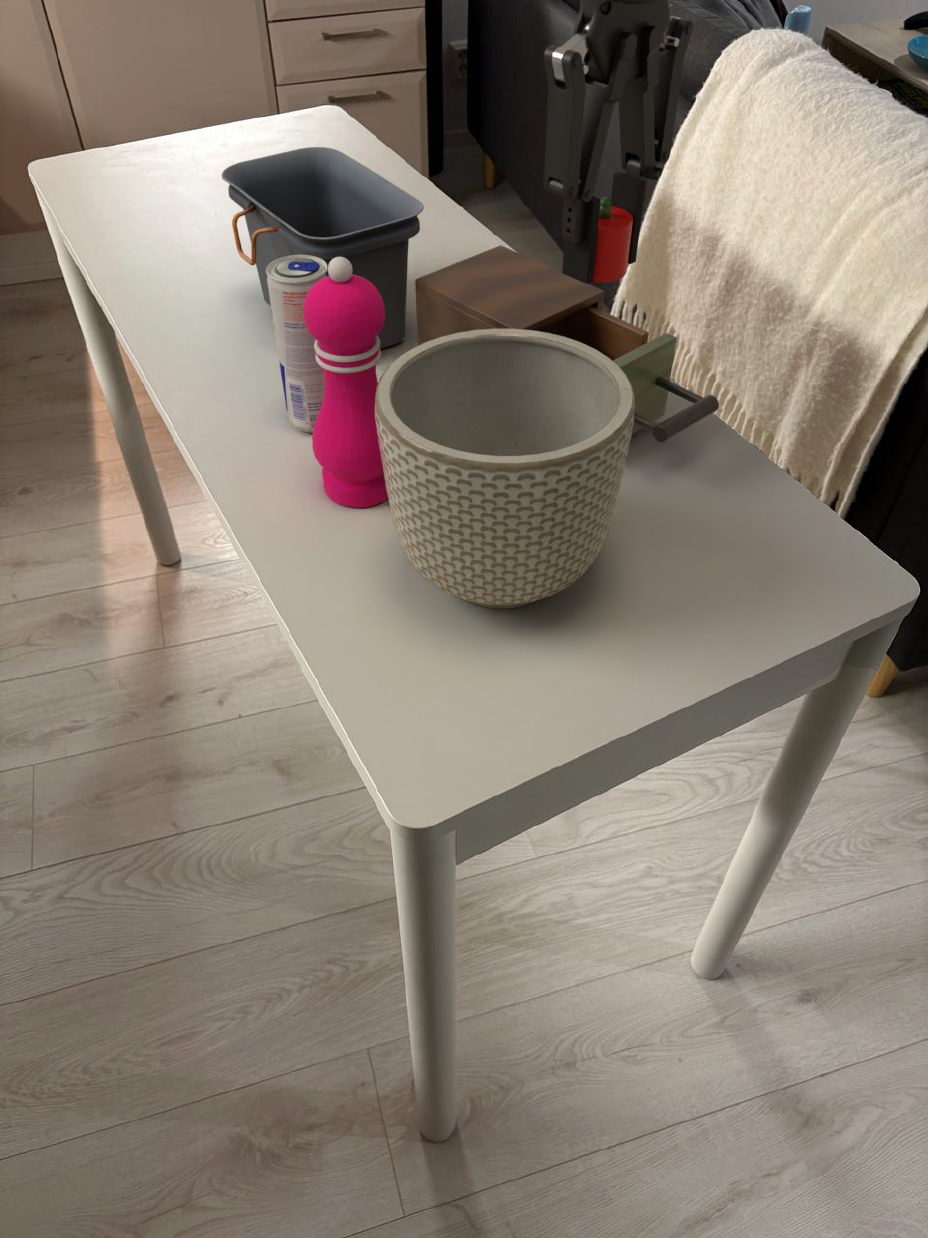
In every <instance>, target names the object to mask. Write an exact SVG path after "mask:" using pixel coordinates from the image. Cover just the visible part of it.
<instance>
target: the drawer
mask: <svg viewBox="0 0 928 1238" xmlns="http://www.w3.org/2000/svg"><path fill="white" fill-rule="evenodd" d="M536 331H539V332H546V333H550V334H555V335H559V336H563V337H566V338H569V339H572V340H575V341H578V342H581V343H583V344H585V345H587V346H589V347H592V348H594V349H596V350H597V351H599V352H600V353H602V354H604V355H605V356H607V357H608V358H609V359H611V360H612V361H613V362H614V363H615V364H617V365H618V366H619V367H620V368H621V370H622V371H623V372H624V373H625V374H626V376H627V377H628V379H629V381H630V383H631V385H632V389H633V394H634V398H635V400H634V405H635V410H634V423H633V429H632V435H633V434H635V433H636V432H638V431H640V430H641V429H643V428H644V429H645V430H647V431H650V432H652V437H653V438H654V440H655V441H656V442H658V443H659V444H660V443H663V444H664V443H666V442H667V441H669V440H671V439H672V438H673V437H676V436H677V435H679V434H680V433H682V432H684V431H686V430H687V429H689V428H691V427H692V426H694V425H696V424H697V423H698V422H700V421H702V420H704V419H706V418H707V417H709V416H710V415H712V414H714V413H715V412H717V411H718V409H719V406H720V402H719V400H718V398H717V397H716V396H715V395H712V394H708V395H706V396H704V397H703V396H701V395H699V394H698V393H695V392H693V391H691V390H689V389H687V388H684V387H683V386H681V385H678V384H677V383H675V382H673V381H671V377H672V371H673V365H674V359H675V352H676V346H677V340H678V338H677V336H675V335H672V334H670V333H668V332H666V333H663V334H661V335H660V336H658V337H656V338H654V339H652V340H650V341H649V333H650V332H649V331H648V330H645V329H644V328H641V327H638V326H637V325H634V324H632V323H630V322H627V321H625V320H624V319H621V318H619V317H617V316H614V315H612V314H611V313H608V312H605V311H604V310H603V311H601V310H599V309H597V308H595V307H593V306H587V307H585V308H583V309H581V310H579V311H577V312H575V313H573V314H570V315H568V316H566V317H564V318H562V319H560V320H558V321H556V322H553V323H551V324H549V325H547V326H545V327H543V328H541V329H539V330H536ZM669 392H670V393H672V394H674V395H676V396H678V397H680V398H682V399H684V400H686V401H688V402H690V403H691V405H689V406H687V407H685V408H684V409H682V410H680V411H679V412H676V413H675V414H673V415H672V416H670V417H668V418H667V419H665V420H663V421H662V422H660V423H657V422H655V421H657V420H659V419H660V418H662V417H664V416H665V415H666V408H667V401H668V397H669V395H668V394H669Z"/></svg>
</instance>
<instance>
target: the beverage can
mask: <svg viewBox="0 0 928 1238" xmlns="http://www.w3.org/2000/svg"><path fill="white" fill-rule="evenodd" d="M327 270H328V266H327V264H326V262H325V261H324V260H322V259H320V258H318V257H315V256H310V255H291V256H286V257H282V258H279V259H276V260H274V261H273V262H271V263H270V264H269V265H268V266H267V268H266V273H267V275H268V277H267V283H268V289H269V296H270V303H271V306H270V308H271V315H272V322H273V329H274V336H275V340H276V341H275V342H276V343H275V344H276V348H277V356H278V362H279V369H280V375H281V382H282V389H283V395H284V401H285V408H286V409H285V410H286V414H287V419H288V421H289V422H290V424H291V425H292V426H294V427H295V428H298V429H299V430H300V431H302V432H305V433H310V434H313V430H314V425H315V421H316V419H317V416H318V413H319V411H320V408H321V405H322V402H323V397H324V391H325V387H324V373H323V368H322V367H321V366H320V365H319V364H318V363H317V361H316V358H315V355H316V351H315V348H314V343H315V340H316V339H315V338H314V337H313V336H312V335H311V334H310V332H309V331H308V330H307V327H306V325H305V321H304V312H303V308H304V301H305V298H306V296H307V293H308V292H309V290H310V288H311V287H312V286H313V285H314V284H315V283H316V282H318V281H319V280H321V279H323V278H324V277H327V276H329V274H328V272H327Z"/></svg>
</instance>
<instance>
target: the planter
mask: <svg viewBox="0 0 928 1238" xmlns="http://www.w3.org/2000/svg"><path fill="white" fill-rule="evenodd" d="M634 400H635V398H634V394H633V389H632V385H631V383H630V381H629V379H628V377H627V376H626V374H625V373H624V372H623V371H622V370H621V368H620V367H619V366H618V365H617V364H615V363H614V362H613V361H612V360H611V359H609V358H608V357H607V356H605V355H604V354H602V353H600V352H599V351H597V350H596V349H594V348H592V347H589V346H587V345H585V344H583V343H581V342H578V341H575V340H572V339H569V338H566V337H563V336H559V335H555V334H550V333H546V332H539V331H533V330H523V329H482V330H472V331H466V332H459V333H455V334H451V335H447V336H442V337H439V338H436V339H433V340H431V341H428V342H425V343H423V344H421V345H419V346H418V345H417V346H415V347H412V348H411V349H409V350H408V351H406V352H405V353H403V354H401V355H400V356H399V357H397V359H395V360H394V361H393V362H391V364H389V365H388V367H387V368H386V369H385V371H384V372H383V373H382V374H381V376H380V379H379V380H378V385H377V389H376V396H375V419H376V428H377V435H378V441H379V447H380V453H381V459H382V465H383V472H384V478H385V484H386V490H387V494H388V499H387V500H388V503H389V508H390V513H391V516H392V521H393V525H394V528H395V531H396V534H397V537H398V540H399V542H400V545H401V547H402V549H403V551H404V554H405V556H406V557H407V558H408V560H409V561H410V563H411V564H412V566H413V567H414V568H415V570H416V571H417V572H418V573H419V574H420V575H421V576H422V577H423V578H424V579H425V580H426V581H428V582H429V583H431V584H432V585H434V586H435V587H436V588H438V589H440V590H441V591H442V592H443V591H444V592H445V593H447V594H449V595H450V596H454V597H457V598H459V599H462V600H464V601H466V602H468V603H470V604H472V605H476V606H479V607H483V608H487V609H495V610H497V609H498V610H499V609H501V610H503V609H505V610H507V609H514V608H518V607H523V606H526V605H528V604H532V603H533V602H536V601H540V600H543V599H545V598H548V597H551V596H553V595H555V594H557V593H559V592H561V591H563V590H564V589H566V588H567V587H569V586H570V585H572V584H574V583H575V582H576V581H578V580H580V578H581V577H582V576H583V575H584V574H585V573H586V572H587V571H588V570H589V568H590V567H591V565H592V564H593V563H594V561H595V559H596V558H597V557H598V555H599V553H600V551H601V549H602V547H603V544H604V541H605V539H606V536H607V533H608V530H609V528H610V525H611V521H612V519H613V515H614V512H615V508H616V504H617V500H618V497H619V494H620V491H621V486H622V481H623V476H624V472H625V467H626V463H627V457H628V453H629V450H630V445H631V439H632V436H633V434H632V429H633V423H634V410H635V405H634Z"/></svg>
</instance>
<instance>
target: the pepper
mask: <svg viewBox="0 0 928 1238" xmlns="http://www.w3.org/2000/svg"><path fill="white" fill-rule="evenodd" d="M600 199H601V201H600V212H599V223H598V233H597V244H596V255H595V265H594V276H593V282H592V283H611V282H615V281H619V280H621V279H623V278H624V277H625V276H626V274H627V272H628V265H629V264H628V257H629V248H630V240H631V232H632V224H633V217H632V215H631V214H630V213H629V212H627V211H626V210H623V209H621V208H617V207H612V206H611V205H612V202H611V198H610V197H607V196H604V197H602V198H600Z"/></svg>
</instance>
